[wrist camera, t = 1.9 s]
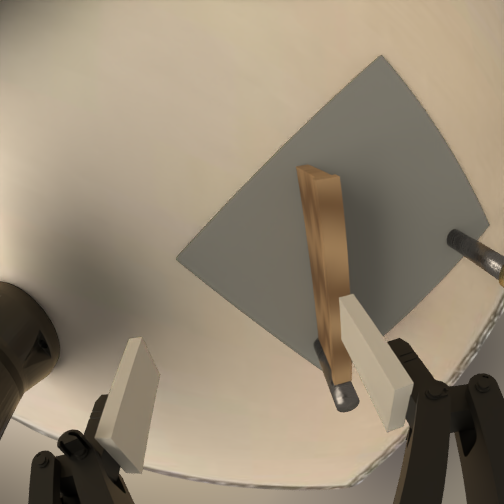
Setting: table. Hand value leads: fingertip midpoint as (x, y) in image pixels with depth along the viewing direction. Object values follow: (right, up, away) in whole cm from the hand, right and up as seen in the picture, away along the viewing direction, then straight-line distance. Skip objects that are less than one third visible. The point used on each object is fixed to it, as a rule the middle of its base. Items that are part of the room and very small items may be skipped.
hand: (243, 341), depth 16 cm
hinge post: (+9, -7, +22) cm, 25 cm away
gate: (+7, +3, +17) cm, 19 cm away
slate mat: (+12, +6, +18) cm, 22 cm away
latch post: (+25, +6, +19) cm, 32 cm away
